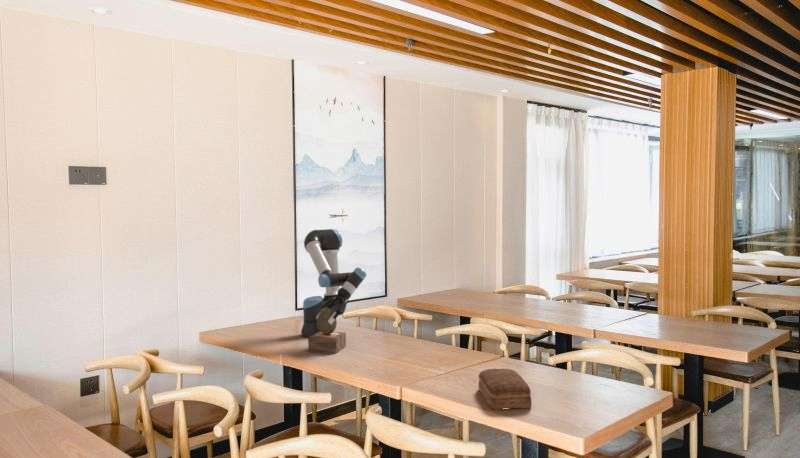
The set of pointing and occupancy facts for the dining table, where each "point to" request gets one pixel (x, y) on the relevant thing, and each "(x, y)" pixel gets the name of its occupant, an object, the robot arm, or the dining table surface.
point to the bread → (504, 389)
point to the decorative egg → (326, 321)
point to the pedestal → (327, 342)
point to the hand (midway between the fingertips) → (323, 321)
